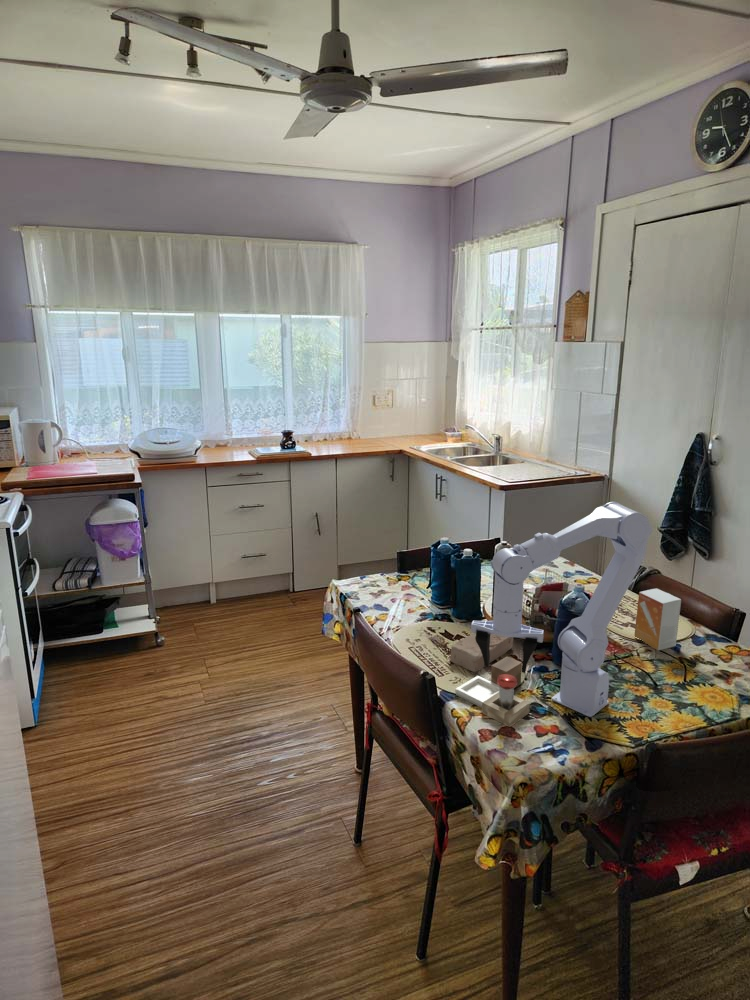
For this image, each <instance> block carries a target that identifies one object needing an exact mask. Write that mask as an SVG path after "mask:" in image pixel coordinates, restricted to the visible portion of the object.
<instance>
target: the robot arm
mask: <svg viewBox="0 0 750 1000" xmlns="http://www.w3.org/2000/svg"><path fill="white" fill-rule="evenodd" d="M652 532H653V528H652V526H651V523H650V521H649V518H648V517H647V516H646V515H645V514H643V513H641V512H639V511H636V510H633V509H631V508H629V507H627V506H625V505H623V504H621V503H620V502H617V501H610V502H607V503H605V504H603V505H600V506H598V507H596V508H594V510H593V511H592V512H591V513H590V514H588V515H587V516H585V517H583V518H581V519H579V520H578V521H576V522H574V523H572V524H571V525H568V526H566V527H565V528H563V529H561V530H560V531H558V532H556V533H554V534H550V533H547V532H543V533H541V532H537V533H535V534H534V535H533V538H531V539H528V540H526V541H525V542H522V543H520V544H518V543H516V544H514V545H513V547H512V548H508V547H505V548H502V549H501V548H500V549H499V550H498V551H497V552H495V554H494V555H493V558H492V560H490V567H491V569H492V570H493V571H494V573H495V574H494V589H493V590H494V593H493V594H494V595H493V615H492V616H493V617H492V618H493V620H472V621H471V624H470V632H471V634H474V633H476V637H475V639H476V642H477V644H478V646H479V648H480V650H481V653H482V656H483V659H484V668H486V667H487V668H488V667H489V664H490V663H489V661H490V649H489V646H490V634H495V635H499V636H503V637H513V638H519V639H524V641H523V645H522V646H523V647H522V650H523V651H522V653H523V654H522V668H521V673H523V674H524V673H526V671H527V665H528V662H529V660H530V659H531V658H530V657H531V656H532V654H533V653H534V651H535V649H536V648H537V643H543V641H544V634H545V633H544V631H545V630H544V629H540V628H536V627H531V626H529V625H525V624H523V620H522V617H523V601H524V598H523V597H524V582H525V581H526V580H527V579H528V577H529V575H530V574H531V572H534V570H536V569H538V568H541V567H543V566H545V565H547V564H549V563H551V562H553V561H555V560H557V559H559V557H560V556H561V555H560V554H561V552H562V550H565V549H568V548H569V547H570V548H571V547H572V546H575V545H577V544H580V543H583V542H584V541H585V542H586V541H588V540H589V539H592V538H594V537H598V536H599V537H604V538H609V539H610V541H611V544H612V546H613V548H614V554H613V556H612V557H611V559H610V561H609V564H608V565H607V567H606V568H605V570H604V572H603V574H602V576H601V578H600V580H599V582H598V584H597V586H596V588H595V589H594V591H593V594H591V597H590V599H589V601H588V603H587V604H586V606H585V609H584V611H583V612H582V614H581V615H580V616H578V617H575V618H572V619H571V620H570V622H569V623H568V625H567V626H566V627H565V628H563V629H562V631H560V633H559V635H558V637H557V645H558V648H559V649H560V651H562V658H561V672H560V673H561V675H560V688H559V692H557V693H556V694H554V695H553V696H552V697H551V701H554V702H555V703H558V704H560V705H562V706H564V707H566V708H568V709H572V710H573V711H576V712H578V713H580V714H583V715H584V716H587V717H588V718H592V717H593V716H595V714H597V713H598V712H599V711H601V710H602V709H603V708H605V706H607V705H608V704H609V703H610V700H608V696H609V686H610V675H609V672H606V671H604V670H603V669H602V668H601V666H602V665H603V663H604V662H605V659H606V651H607V648H608V646H609V640H608V634H607V628H608V626H609V624H610V622H611V620H612V619H613V616H615V613H616V611H617V609H618V608H619V606H620V604H621V602H622V600H623V598H624V596H625V594H626V593H627V591H628V588H629V587H630V585H631V583H632V581H633V579H634V578H635V576H636V574H637V572H638V570H639V568H640V567H641V565H642V563H643V561H644V559H645V557H646V554H647V547H648V546H647V544H648V540H649V538H650V536H651V534H652Z"/></svg>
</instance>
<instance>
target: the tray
mask: <svg viewBox="0 0 750 1000" xmlns="http://www.w3.org/2000/svg"><path fill="white" fill-rule="evenodd" d="M498 692H499V685H497V684H495V683H493V682H491V680H488V679H486V678H484V677H482V676H480V675H476V676H475V677H473V678H471V679H469V680H468V681H466V682H464V683H463V684H461V685H459V686H458V687H455V692H454V693H455V694H456V695H455V696H457V697H459V698H461V699H463V700H465V701H467V702H469V703H472V704H473V705H475V706H477V707H479V708H481V709H482V702H484V701H486V700H487V699H489V698H490V697H492V696H493V695H495V694H497V693H498Z"/></svg>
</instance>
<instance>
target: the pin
mask: <svg viewBox="0 0 750 1000" xmlns="http://www.w3.org/2000/svg"><path fill="white" fill-rule="evenodd" d="M497 684H498V685H499V706H500V707H502V708H504V709H506V710H508V711H509V710H510V709H512V708H513V700H514V696H515V688H516V687H517V686H518V684H517V679H516V677H514V676H512V675H508V674H503V675H499V676H498V678H497Z"/></svg>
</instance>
